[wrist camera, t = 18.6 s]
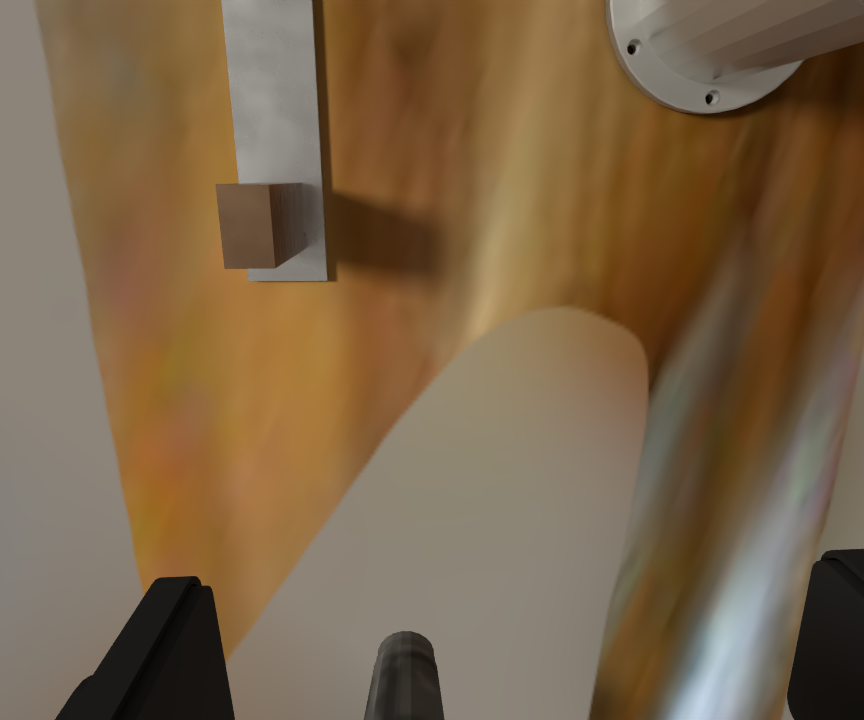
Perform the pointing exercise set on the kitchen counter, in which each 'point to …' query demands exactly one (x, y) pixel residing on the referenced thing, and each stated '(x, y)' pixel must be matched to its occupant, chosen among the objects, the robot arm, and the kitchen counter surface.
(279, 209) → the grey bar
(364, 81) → the kitchen counter surface
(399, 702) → the dark grey bottle
